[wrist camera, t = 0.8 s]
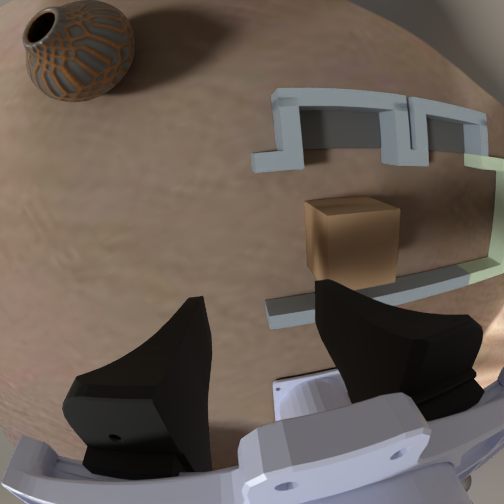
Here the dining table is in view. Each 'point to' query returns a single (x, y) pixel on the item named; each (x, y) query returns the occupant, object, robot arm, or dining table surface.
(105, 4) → the vase
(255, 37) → the dining table surface
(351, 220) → the walnut block
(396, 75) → the dining table surface
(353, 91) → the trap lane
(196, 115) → the dining table surface
